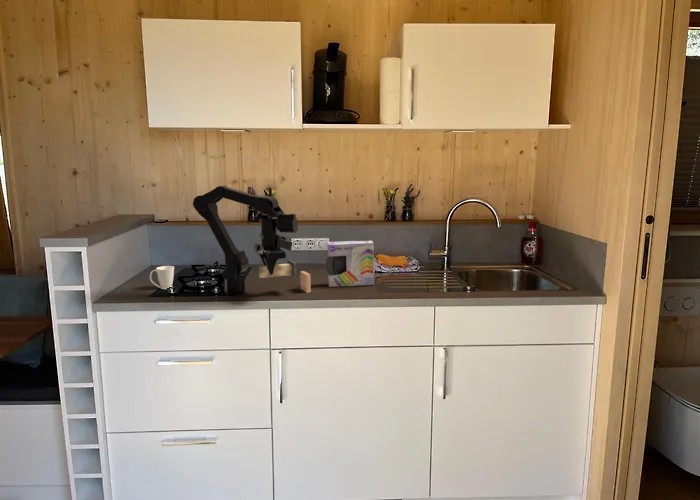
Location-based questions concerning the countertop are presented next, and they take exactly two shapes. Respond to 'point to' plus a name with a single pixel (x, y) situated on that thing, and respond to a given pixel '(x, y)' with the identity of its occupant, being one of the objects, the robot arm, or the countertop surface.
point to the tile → (305, 281)
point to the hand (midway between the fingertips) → (270, 273)
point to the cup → (164, 276)
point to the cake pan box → (350, 263)
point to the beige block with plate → (279, 270)
